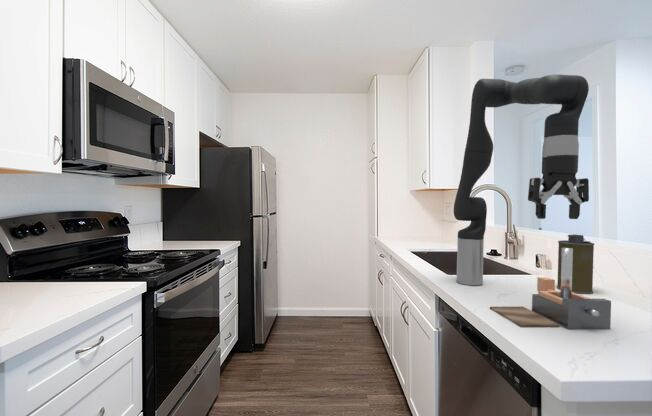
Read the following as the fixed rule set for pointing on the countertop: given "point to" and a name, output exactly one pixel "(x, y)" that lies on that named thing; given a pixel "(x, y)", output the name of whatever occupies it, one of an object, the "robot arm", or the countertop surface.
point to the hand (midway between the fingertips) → (557, 218)
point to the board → (524, 317)
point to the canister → (578, 263)
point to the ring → (552, 290)
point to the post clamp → (573, 304)
